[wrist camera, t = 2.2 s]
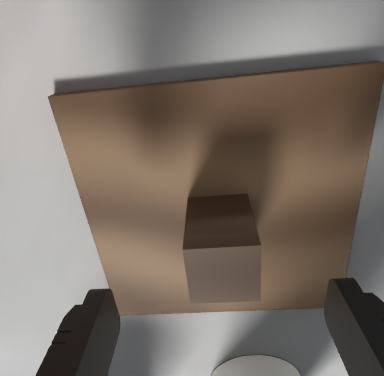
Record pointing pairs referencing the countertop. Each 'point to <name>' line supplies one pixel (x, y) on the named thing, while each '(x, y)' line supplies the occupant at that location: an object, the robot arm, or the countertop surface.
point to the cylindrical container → (256, 367)
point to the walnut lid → (223, 185)
